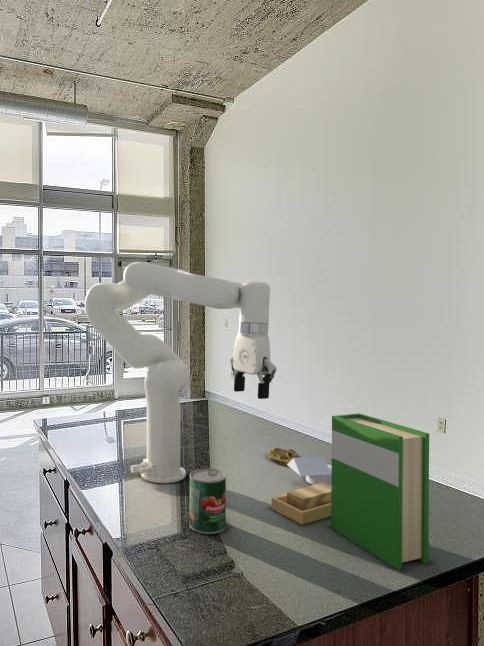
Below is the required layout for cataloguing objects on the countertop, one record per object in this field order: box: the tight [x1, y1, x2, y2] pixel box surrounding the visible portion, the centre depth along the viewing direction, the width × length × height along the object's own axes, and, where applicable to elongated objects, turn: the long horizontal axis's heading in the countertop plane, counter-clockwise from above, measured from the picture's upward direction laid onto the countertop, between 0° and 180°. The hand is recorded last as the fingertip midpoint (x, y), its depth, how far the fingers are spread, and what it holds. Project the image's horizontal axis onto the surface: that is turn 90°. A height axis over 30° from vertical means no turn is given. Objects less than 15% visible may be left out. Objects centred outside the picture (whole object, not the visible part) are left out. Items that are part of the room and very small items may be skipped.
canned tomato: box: [188, 468, 227, 535], centre depth 104 cm, size 8×8×11 cm
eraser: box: [286, 483, 331, 511], centre depth 113 cm, size 12×5×4 cm, turn 120°
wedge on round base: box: [287, 456, 332, 486], centre depth 131 cm, size 9×7×13 cm
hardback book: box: [330, 412, 430, 570], centre depth 97 cm, size 18×7×24 cm, turn 21°
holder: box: [271, 493, 331, 525], centre depth 113 cm, size 18×10×3 cm, turn 120°
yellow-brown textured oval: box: [267, 447, 301, 467], centre depth 149 cm, size 9×5×15 cm
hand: (250, 394), depth 126 cm, fingers open, 9 cm apart
